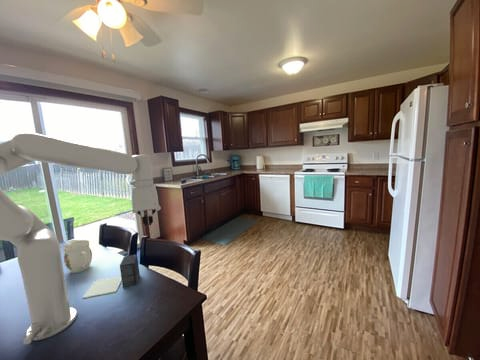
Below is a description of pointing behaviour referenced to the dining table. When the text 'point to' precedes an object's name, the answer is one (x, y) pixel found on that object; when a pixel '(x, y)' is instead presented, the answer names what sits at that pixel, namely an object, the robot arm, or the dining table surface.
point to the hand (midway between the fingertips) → (148, 224)
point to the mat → (103, 286)
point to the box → (129, 271)
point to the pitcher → (77, 255)
